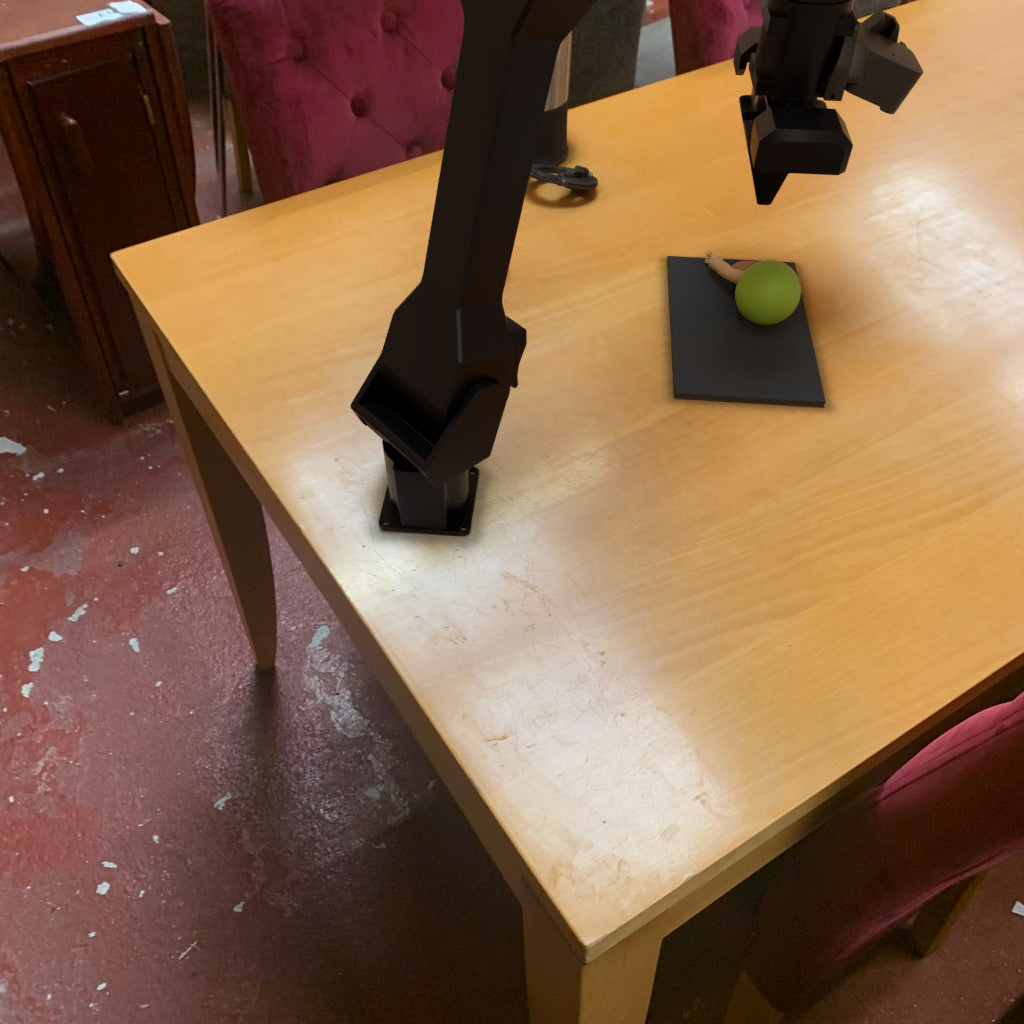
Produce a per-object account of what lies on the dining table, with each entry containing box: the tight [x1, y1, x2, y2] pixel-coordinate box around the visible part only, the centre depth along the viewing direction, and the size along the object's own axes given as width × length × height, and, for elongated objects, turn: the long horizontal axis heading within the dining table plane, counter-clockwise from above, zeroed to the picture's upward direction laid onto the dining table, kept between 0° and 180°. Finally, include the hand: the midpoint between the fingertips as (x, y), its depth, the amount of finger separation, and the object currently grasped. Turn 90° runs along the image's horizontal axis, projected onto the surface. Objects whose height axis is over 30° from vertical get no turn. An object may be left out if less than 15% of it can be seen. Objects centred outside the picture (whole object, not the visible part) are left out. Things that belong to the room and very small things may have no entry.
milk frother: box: [454, 30, 599, 194], centre depth 92 cm, size 14×16×15 cm
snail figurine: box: [705, 250, 802, 325], centre depth 79 cm, size 5×6×12 cm
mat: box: [666, 255, 827, 408], centre depth 78 cm, size 20×12×1 cm, turn 175°
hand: (763, 202), depth 72 cm, fingers closed
